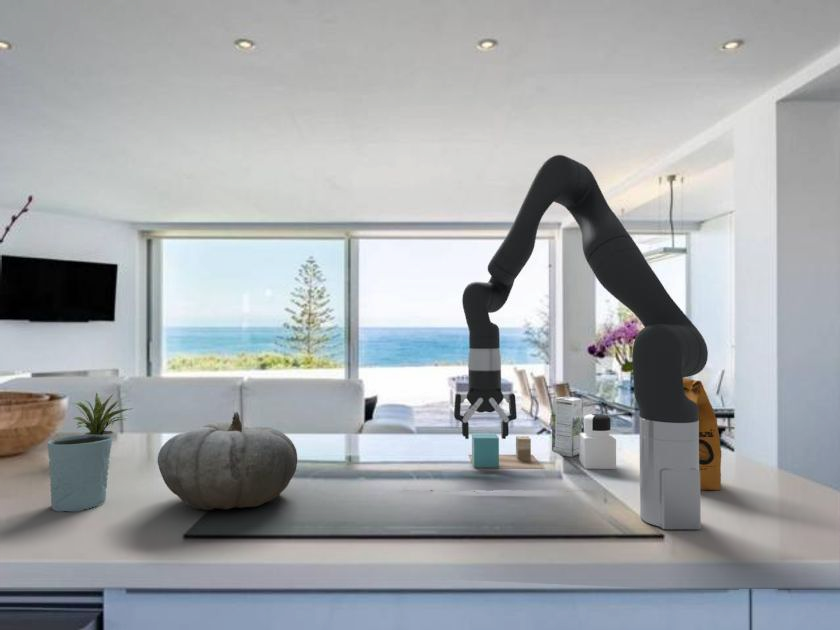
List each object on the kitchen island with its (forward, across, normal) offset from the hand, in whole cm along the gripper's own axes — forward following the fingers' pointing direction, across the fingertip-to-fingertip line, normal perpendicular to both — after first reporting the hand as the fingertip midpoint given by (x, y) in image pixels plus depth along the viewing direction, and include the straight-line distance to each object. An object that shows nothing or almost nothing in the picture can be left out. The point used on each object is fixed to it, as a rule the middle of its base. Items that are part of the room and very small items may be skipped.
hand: (485, 438), depth 130 cm
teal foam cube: (+6, 0, 0) cm, 6 cm away
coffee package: (+8, +42, -12) cm, 44 cm away
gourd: (+7, -51, -23) cm, 57 cm away
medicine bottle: (+7, +27, +3) cm, 28 cm away
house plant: (+6, -95, +10) cm, 96 cm away
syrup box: (+7, +23, +15) cm, 29 cm away
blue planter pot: (+7, -78, -25) cm, 82 cm away
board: (+7, +5, +3) cm, 9 cm away
